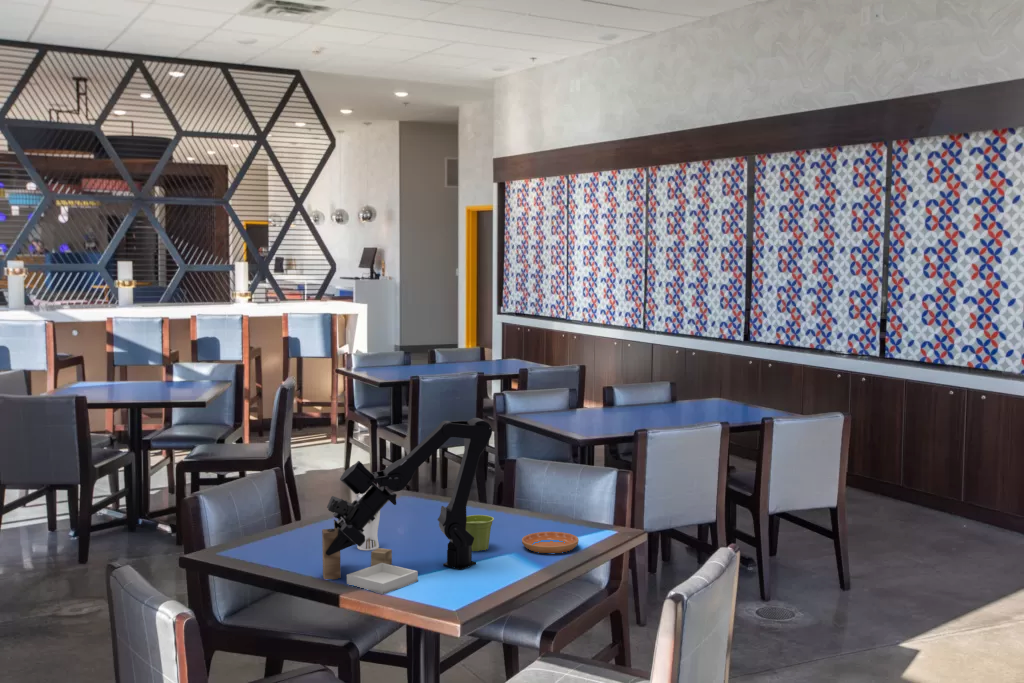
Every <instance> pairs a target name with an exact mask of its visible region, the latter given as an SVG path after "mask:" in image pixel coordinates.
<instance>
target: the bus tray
mask: <svg viewBox="0 0 1024 683" xmlns="http://www.w3.org/2000/svg"><path fill="white" fill-rule="evenodd" d="M418 573H419V571H418V570H414V569H410V568H406V567H402V566H398V565H397V566H396V565H392V564H391V565H389V564H385V563H380V564H377V565H374V566H371V565H370V566H369V567H365V568H362V569H359V570H356V571H353V572H350V573H347V574H346V585H347V584H349V585H354V586H357V587H360V588H359V589H361V588H364V589H363V590H365V589H368V590H371V591H370V592H372V591H374V592H373V593H376V592H377V594H380V595H385V594H388V593H391V592H392V591H396V590H398V589H401V588H404V587H406V586H409V585H412V584H415V583H416V581H417V582H418V581H419V580H418V579H419V578H418V577H419V575H418ZM414 582H415V583H414ZM349 585H348V586H349ZM357 587H356V588H357ZM368 590H367V591H368Z"/></svg>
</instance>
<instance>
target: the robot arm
mask: <svg viewBox="0 0 1024 683" xmlns="http://www.w3.org/2000/svg"><path fill="white" fill-rule="evenodd" d="M492 434H493V428H492V426H491V424H490V423H488V422H487V421H485V420H484V419H482V418H479V417H473V418H471V419H469V420H456V421H455V420H452V421H451V420H443V421H441V422H440V423H439V425H438V426H437V427H436V428H435V429H434V430H433V431H431V432H430V433H429V434H428V435H427V436H426V437H425V438H424V439H423V440H422V441H421V442H420V443H419V444H417V446H415V447H414V448H413V449H412V450H411V451H410V452H409V453H407V454H406V455H405V456H403V457H402V458H400V459H398V460H396V461H394V462H392V463H390V464H389V465H388V466H386V467H385V468H384V469H383V470H379V471H373V472H371V471H370V470H369V469H368V468H367V467H366V466H365V465H364V464H363V463H362V461H360V460H357V461H356V463H354V464H352V465H351V466H350V467H347V469H346V470H345V471H344V472H343V473H342V475H340V478H339V480H340V481H341V483H342V484H344V485H345V486H346V487H347V488H348V489H350V490H351V491H352V492H353V493H354V494H355V495H358V494H364V493H365V494H364V495H363V496H362V497H361V498H360V500H359V501H357V500H356V499H355V500H353V501H352V502H349V501H348V500H344V499H343V498H340V497H336V496H334V495H331V497H330V498H329V499H330V500H329V502H328V504H327V506H326V508H327V510H328V511H329V512H330V513H332V514H333V515H332V516H333V517H334V519H333V529H334V528H337V536H336V538H335V539H334V541H333V542H332V544H331V545H330V546H329V548H328V549H327V551H326V554H327V555H328V556H329V555H331V554H334V553H336V552H338V551H340V552H341V551H342V550H345V549H347V548H349V547H352V546H357V545H358V546H359V547H360V546H361V545H362V544H363V543H364V542H365V536H364V534H363V533H362V532H363V531H364V529H363V528H364V527H365V526H366V525H367V524H368V522H369V521H370V520H372V521H373V520H374V519H375V517H374V516H375V515H376V514H377V513H378V512H379V511H380V512H381V509H382V508H384V506H386V504H387V503H388V502H390V503H391V504H392V505H394V506H396V505H397V493H396V492H400V491H402V490H403V489H404V488H406V486H407V485H408V484H409V482H410V481H411V480H412V478H413V477H414V475H415V473H416V472H417V470H418V469H419V467H420V466H422V464H424V463H425V462H426V461H427V460H428V459H429V458H430V457H431V456H432V455H433V454H434V453H436V452H437V451H438V450H439V449H440V448H441V447H442V446H443V445H444V444H445V443H447V441H448V440H449V439H450V438H457V439H463V444H464V450H463V454H462V458H461V463H460V465H459V469H458V473H457V476H456V480H455V484H454V488H453V491H452V495H451V498H450V501H449V503H448V504H447V506H444V505H441V508H440V514H439V517H438V518H437V519H436V520H437V521H438V527H439V529H440V531H441V532H442V534H444V536H445V537H446V539H447V540H449V542H448V543H447V550H446V562H444V563H442V564H443V566H444V567H448V568H453V569H457V570H464V569H466V568H470V567H473V566H475V565H477V561H474V560H473V561H472V559H473V558H472V557H473V555H472V554H473V553H472V552H473V551H472V544H473V541H474V537H473V536H472V535H471V534H470V533H469V532H468V531H467V530H466V521H467V516H468V515H467V505H468V501H469V498H470V493H471V490H472V488H473V487H472V486H473V484H474V479H475V475H476V472H477V468H478V464H479V461H480V457H481V455H482V453H483V452H484V451H485V449H486V447H487V446H488V445H489V444H488V443H489V442H490V439H491V437H492ZM374 482H375V483H374ZM376 483H377V484H378V485H379V486H380V487H379V486H378V485H377V484H376ZM388 489H389V490H390V491H393V492H390V491H389V490H388ZM336 519H337V520H336Z"/></svg>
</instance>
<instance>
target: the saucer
mask: <svg viewBox="0 0 1024 683" xmlns="http://www.w3.org/2000/svg"><path fill="white" fill-rule="evenodd" d="M579 539H580V538H579V537H578V536H576V535H574V534H572V533H569V532H568V533H567V532H562V531H540V532H534V533H533V532H532V533H529V534H527V535H524V536H523V537H522V538H521V541H522V545H523V546H524V547H525V548H526V549H527V550H528V549H529V550H531V551H534V552H533V553H535V552H539V553H562V552H566V553H568V552H567V551H569V552H571V551H572V550H573V549H574V548H576V547H577V546H578V544H579ZM541 540H559V541H563V542H553V541H550V542H539V543H535V544H533V543H534V542H538V541H541ZM564 542H565V543H564ZM532 544H533V545H532ZM570 550H571V551H570ZM531 551H530V552H531ZM539 553H538V554H539ZM562 554H563V553H562Z"/></svg>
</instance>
